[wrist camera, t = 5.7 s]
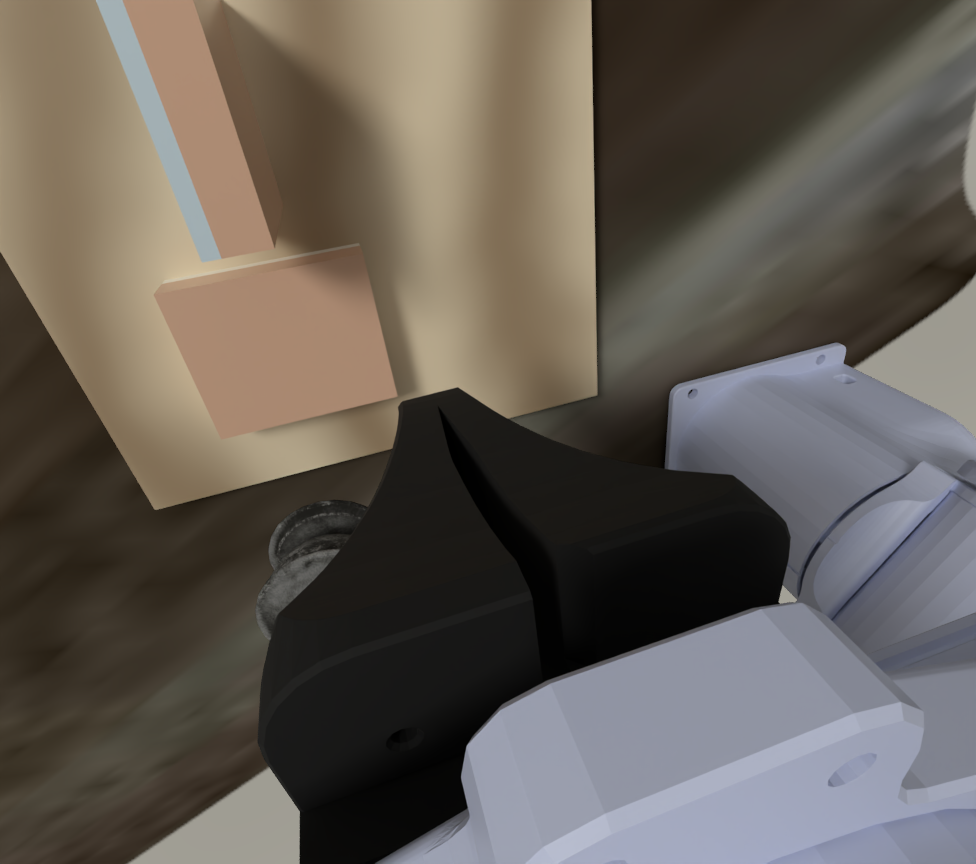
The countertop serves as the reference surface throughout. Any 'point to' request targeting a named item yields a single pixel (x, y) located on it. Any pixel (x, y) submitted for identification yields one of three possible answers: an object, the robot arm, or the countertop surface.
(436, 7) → the maple board
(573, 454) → the robot arm
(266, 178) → the tan piece
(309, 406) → the cream tile
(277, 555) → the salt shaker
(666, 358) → the countertop surface
